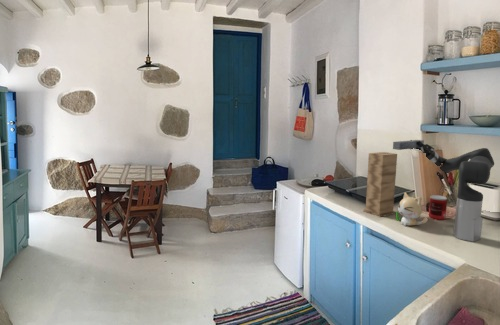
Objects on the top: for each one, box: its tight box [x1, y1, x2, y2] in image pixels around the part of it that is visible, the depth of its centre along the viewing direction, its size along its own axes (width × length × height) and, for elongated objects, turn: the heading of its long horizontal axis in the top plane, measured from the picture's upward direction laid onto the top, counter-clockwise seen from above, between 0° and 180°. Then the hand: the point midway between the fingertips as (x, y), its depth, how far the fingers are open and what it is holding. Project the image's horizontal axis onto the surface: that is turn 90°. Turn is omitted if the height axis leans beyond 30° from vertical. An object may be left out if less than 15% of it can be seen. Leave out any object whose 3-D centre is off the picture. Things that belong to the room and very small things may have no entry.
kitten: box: [395, 192, 429, 227], centre depth 162 cm, size 15×10×15 cm
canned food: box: [428, 194, 448, 221], centre depth 173 cm, size 8×8×11 cm
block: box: [392, 139, 425, 151], centre depth 187 cm, size 4×21×4 cm, turn 120°
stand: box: [362, 151, 398, 218], centre depth 180 cm, size 11×12×32 cm
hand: (414, 141), depth 189 cm, fingers closed on block, 4 cm apart
